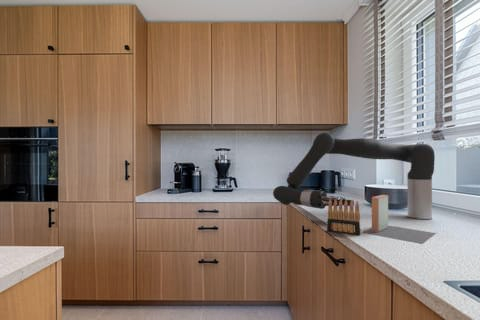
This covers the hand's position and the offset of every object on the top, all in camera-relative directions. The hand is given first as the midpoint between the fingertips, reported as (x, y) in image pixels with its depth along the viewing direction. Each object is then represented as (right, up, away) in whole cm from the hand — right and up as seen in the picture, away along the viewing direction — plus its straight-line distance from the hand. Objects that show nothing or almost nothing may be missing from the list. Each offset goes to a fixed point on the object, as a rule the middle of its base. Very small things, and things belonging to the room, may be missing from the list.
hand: (353, 203), depth 105 cm
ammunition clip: (-8, -9, -12) cm, 17 cm away
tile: (+7, -8, -7) cm, 13 cm away
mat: (+11, -9, -12) cm, 18 cm away
